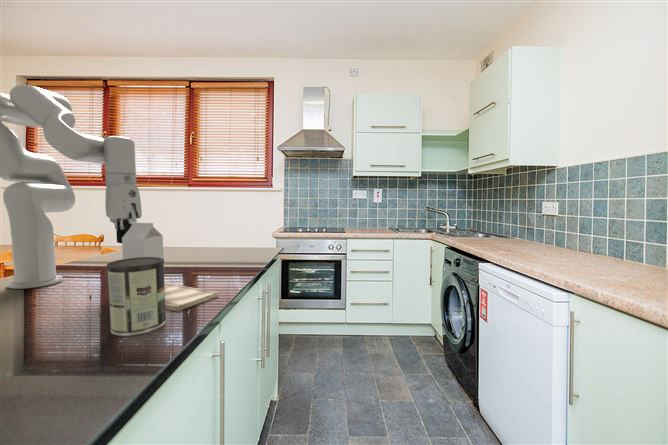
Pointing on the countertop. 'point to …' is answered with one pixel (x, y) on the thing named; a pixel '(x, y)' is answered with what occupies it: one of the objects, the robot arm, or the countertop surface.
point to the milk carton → (142, 242)
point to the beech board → (185, 296)
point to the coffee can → (136, 295)
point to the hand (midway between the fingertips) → (124, 242)
